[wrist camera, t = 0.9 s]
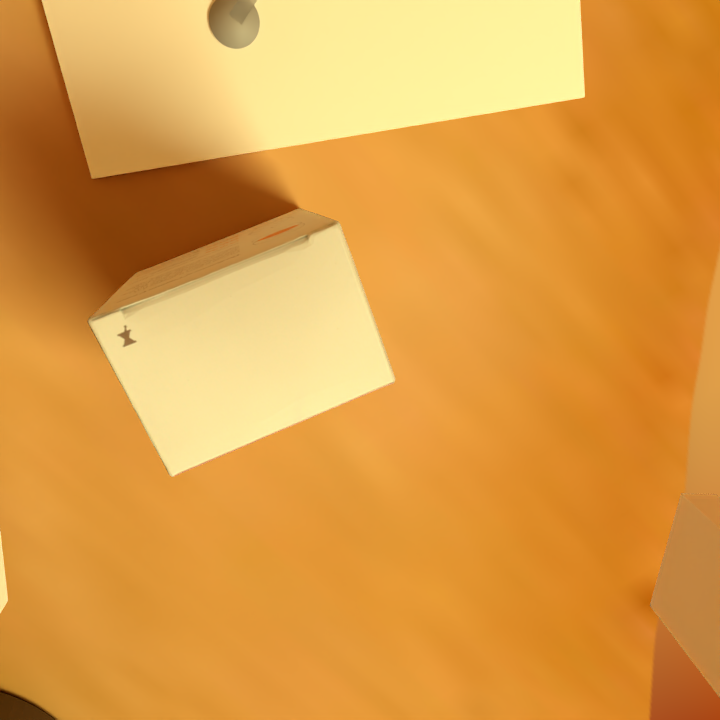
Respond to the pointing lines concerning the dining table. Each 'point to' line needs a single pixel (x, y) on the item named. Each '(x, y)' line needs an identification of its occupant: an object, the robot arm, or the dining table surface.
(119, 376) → the small box
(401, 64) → the paper sheet
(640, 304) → the dining table surface
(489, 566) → the dining table surface
